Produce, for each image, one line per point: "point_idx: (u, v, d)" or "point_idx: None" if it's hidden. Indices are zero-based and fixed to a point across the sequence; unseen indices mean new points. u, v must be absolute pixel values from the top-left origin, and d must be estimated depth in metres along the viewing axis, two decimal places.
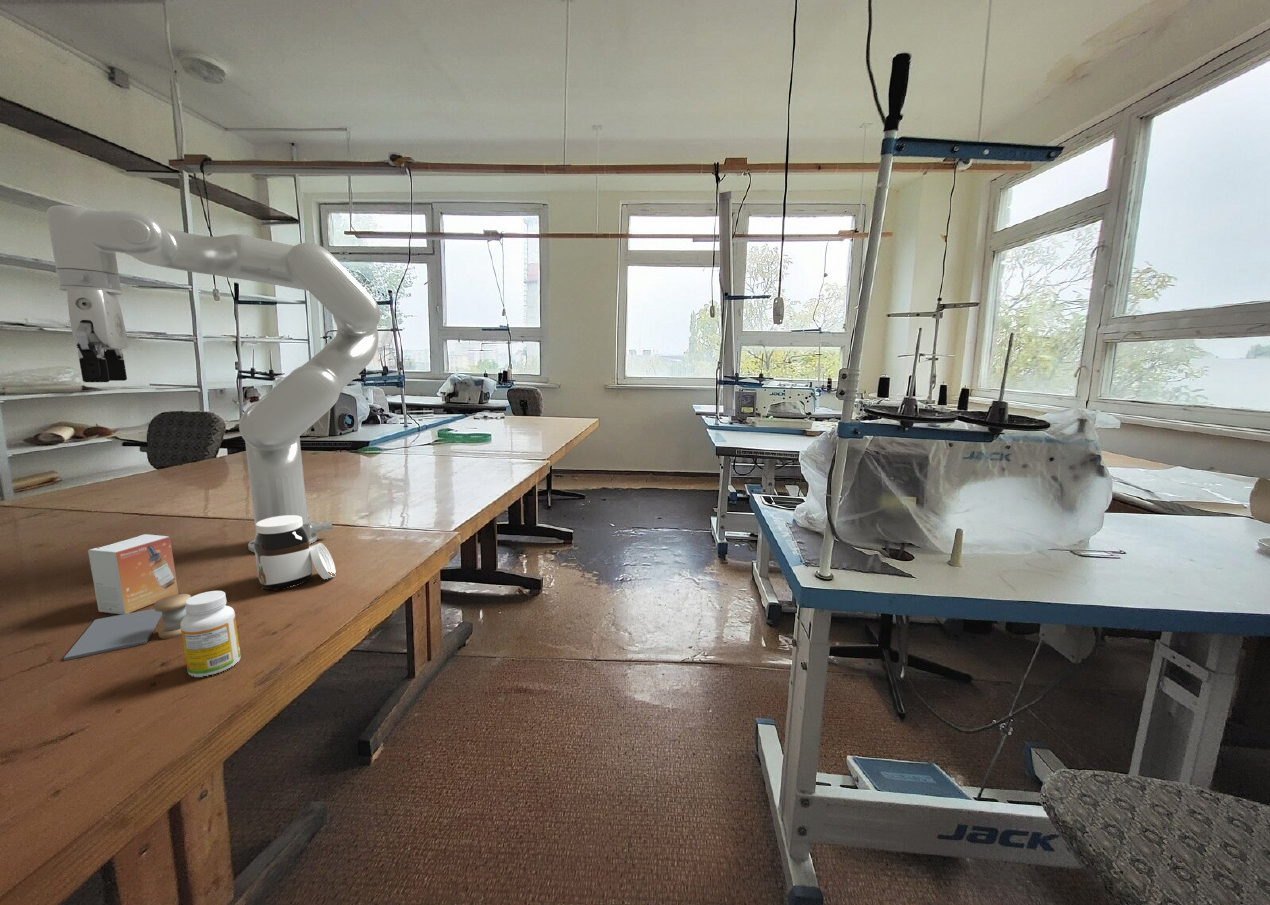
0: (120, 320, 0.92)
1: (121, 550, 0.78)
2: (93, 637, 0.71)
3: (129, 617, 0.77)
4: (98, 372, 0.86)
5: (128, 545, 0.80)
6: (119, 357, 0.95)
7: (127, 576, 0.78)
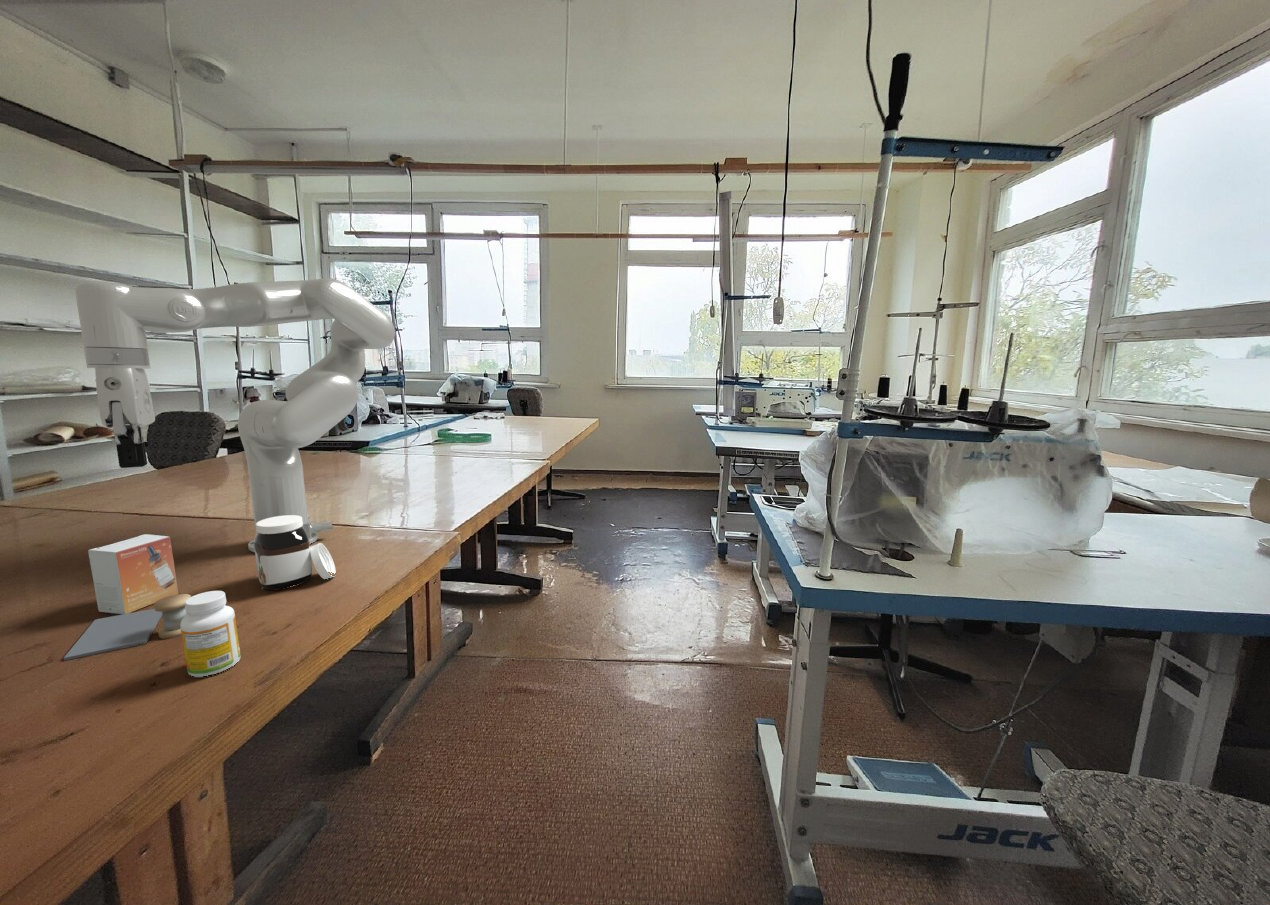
0: (148, 395, 0.88)
1: (121, 550, 0.78)
2: (93, 637, 0.71)
3: (129, 617, 0.77)
4: (135, 458, 0.86)
5: (128, 545, 0.80)
6: (139, 441, 0.87)
7: (127, 576, 0.78)
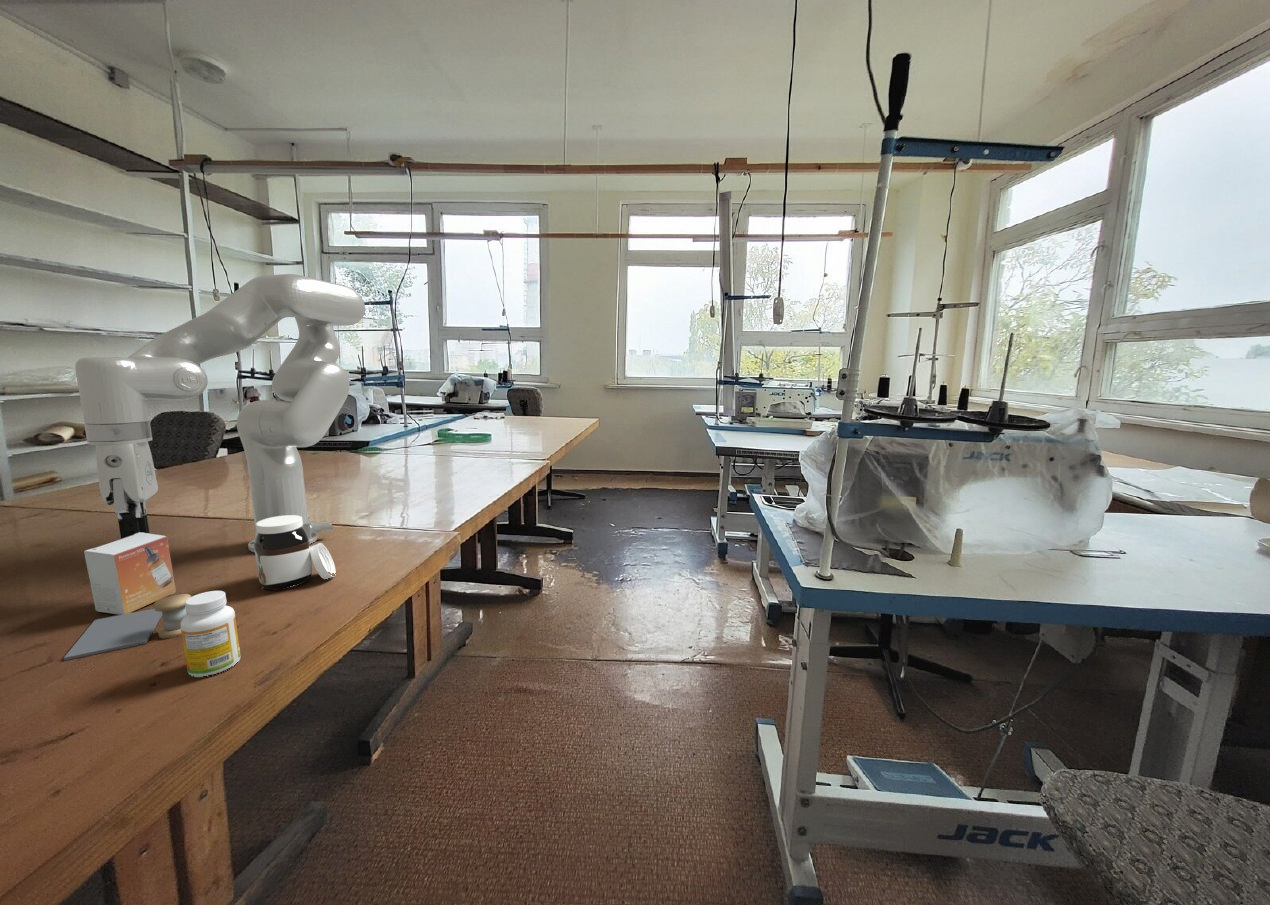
0: (150, 466, 0.86)
1: (119, 552, 0.77)
2: (93, 637, 0.71)
3: (129, 617, 0.77)
4: (137, 532, 0.84)
5: (126, 546, 0.79)
6: (142, 513, 0.85)
7: (126, 578, 0.78)
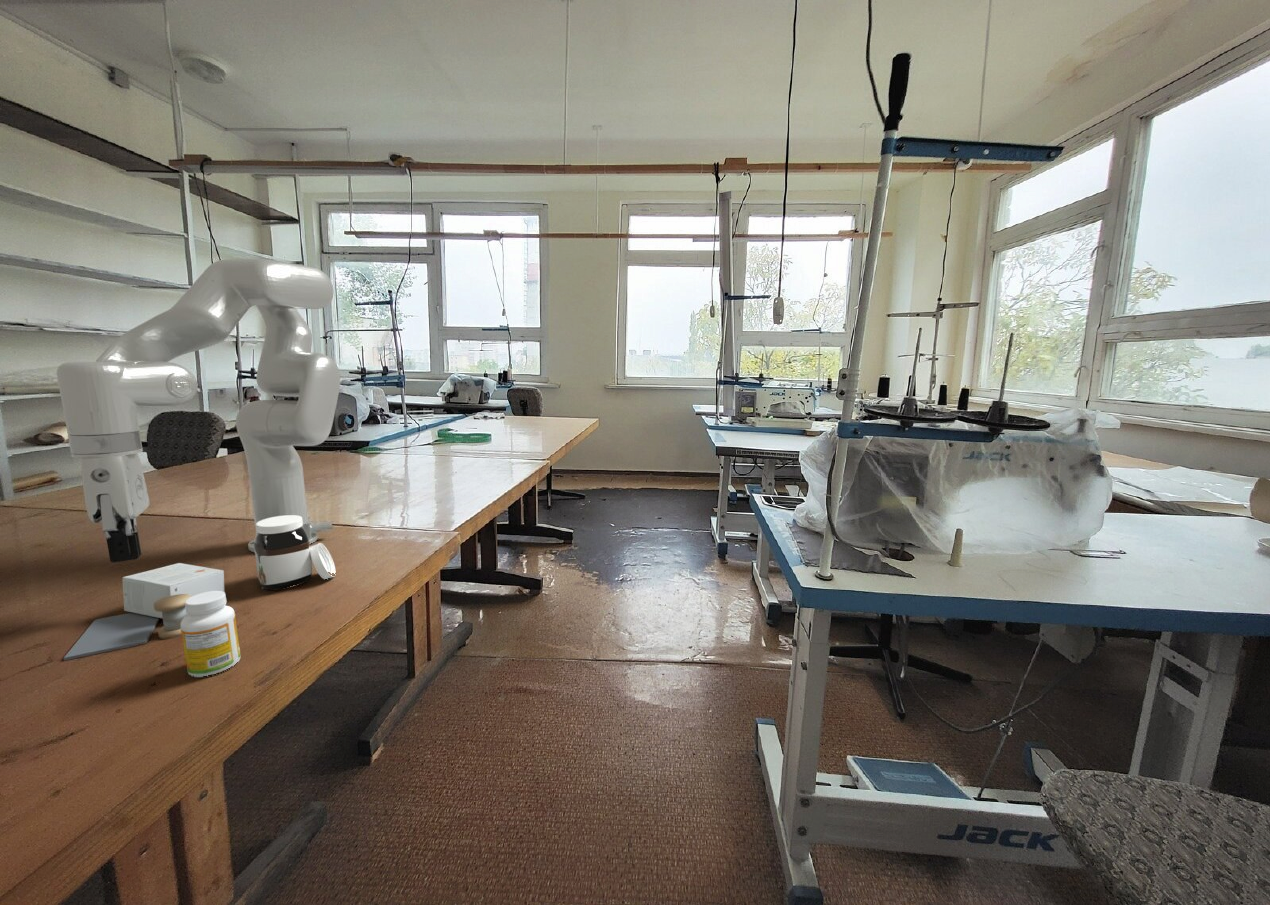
0: (141, 479, 0.79)
1: None
2: (93, 637, 0.71)
3: (129, 617, 0.77)
4: (128, 551, 0.78)
5: None
6: (132, 530, 0.79)
7: None
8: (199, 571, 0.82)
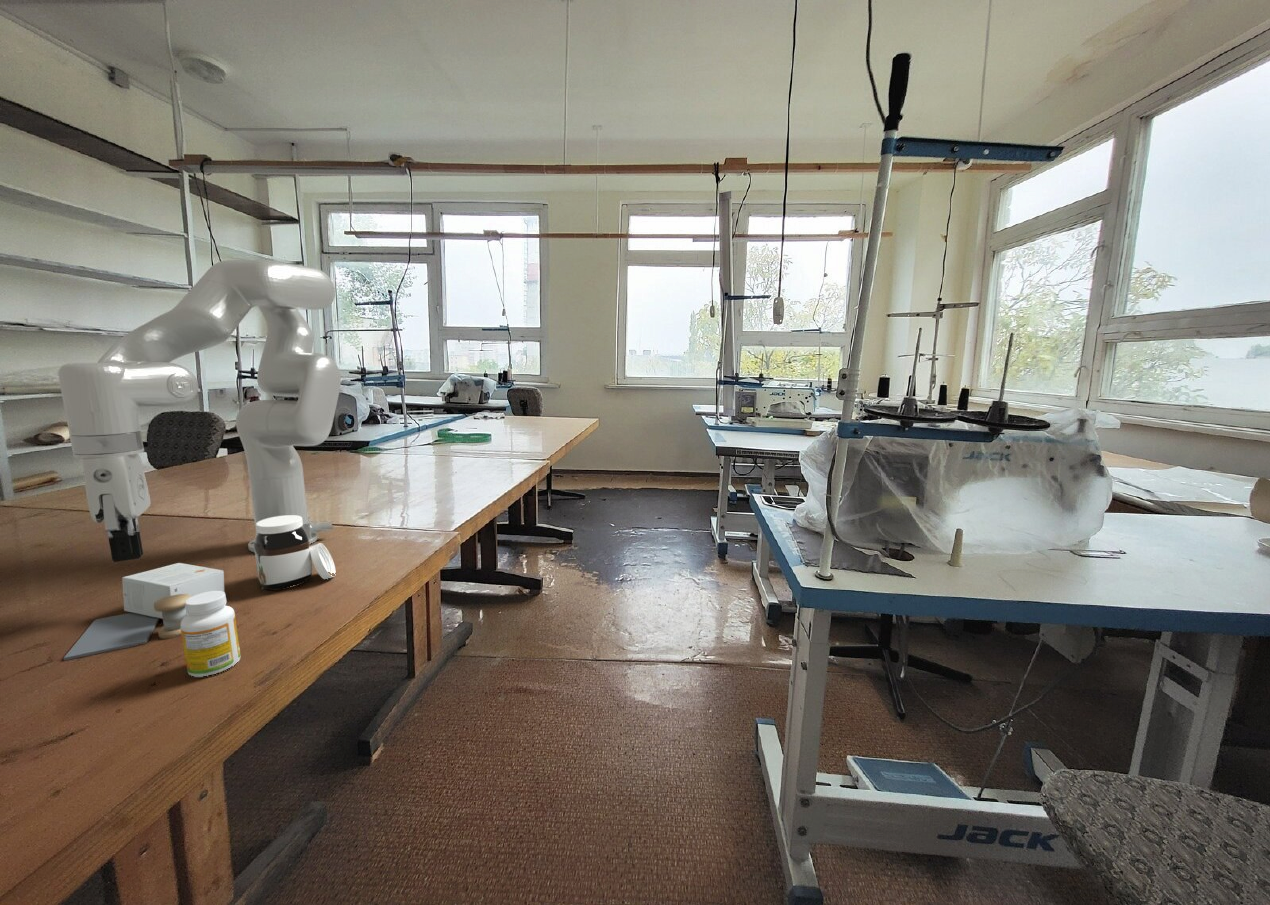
0: (142, 479, 0.80)
1: None
2: (93, 637, 0.71)
3: (129, 617, 0.77)
4: (130, 550, 0.78)
5: None
6: (134, 530, 0.80)
7: None
8: (199, 571, 0.82)
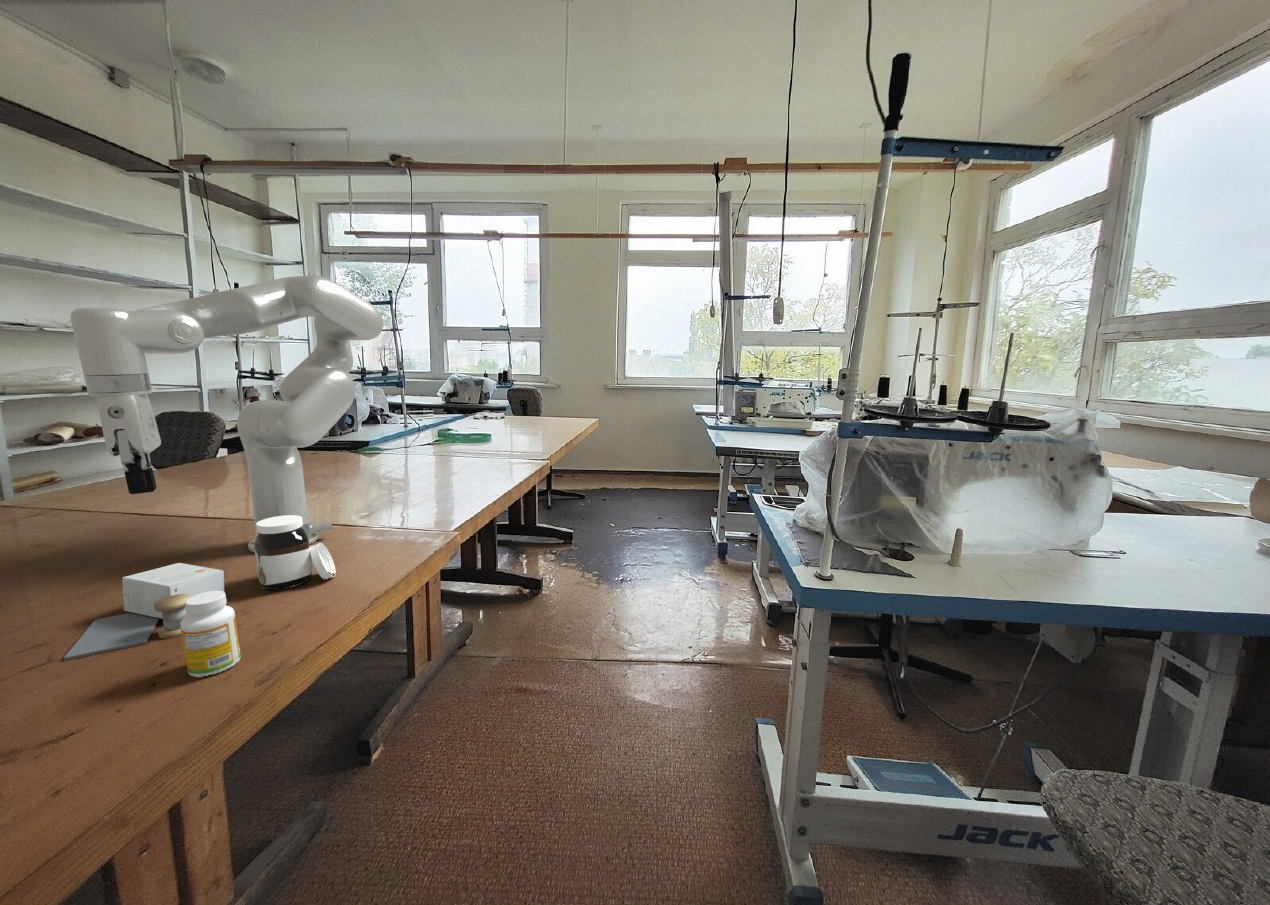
0: (152, 419, 0.86)
1: None
2: (93, 637, 0.71)
3: (129, 617, 0.77)
4: (144, 484, 0.85)
5: None
6: (147, 466, 0.87)
7: None
8: (199, 571, 0.82)
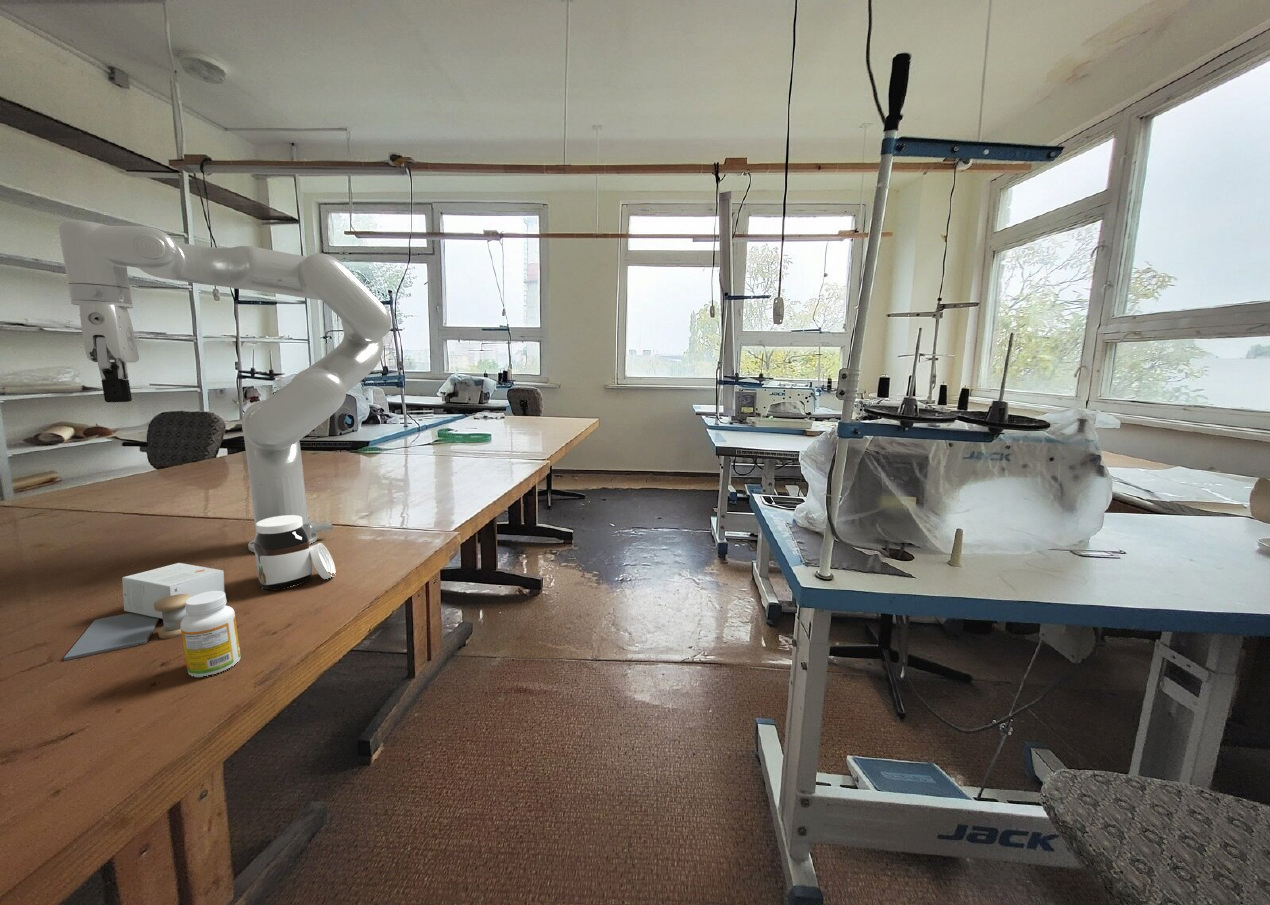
0: (131, 334, 0.92)
1: None
2: (93, 637, 0.71)
3: (129, 617, 0.77)
4: (120, 392, 0.90)
5: None
6: (124, 377, 0.92)
7: None
8: (199, 571, 0.82)
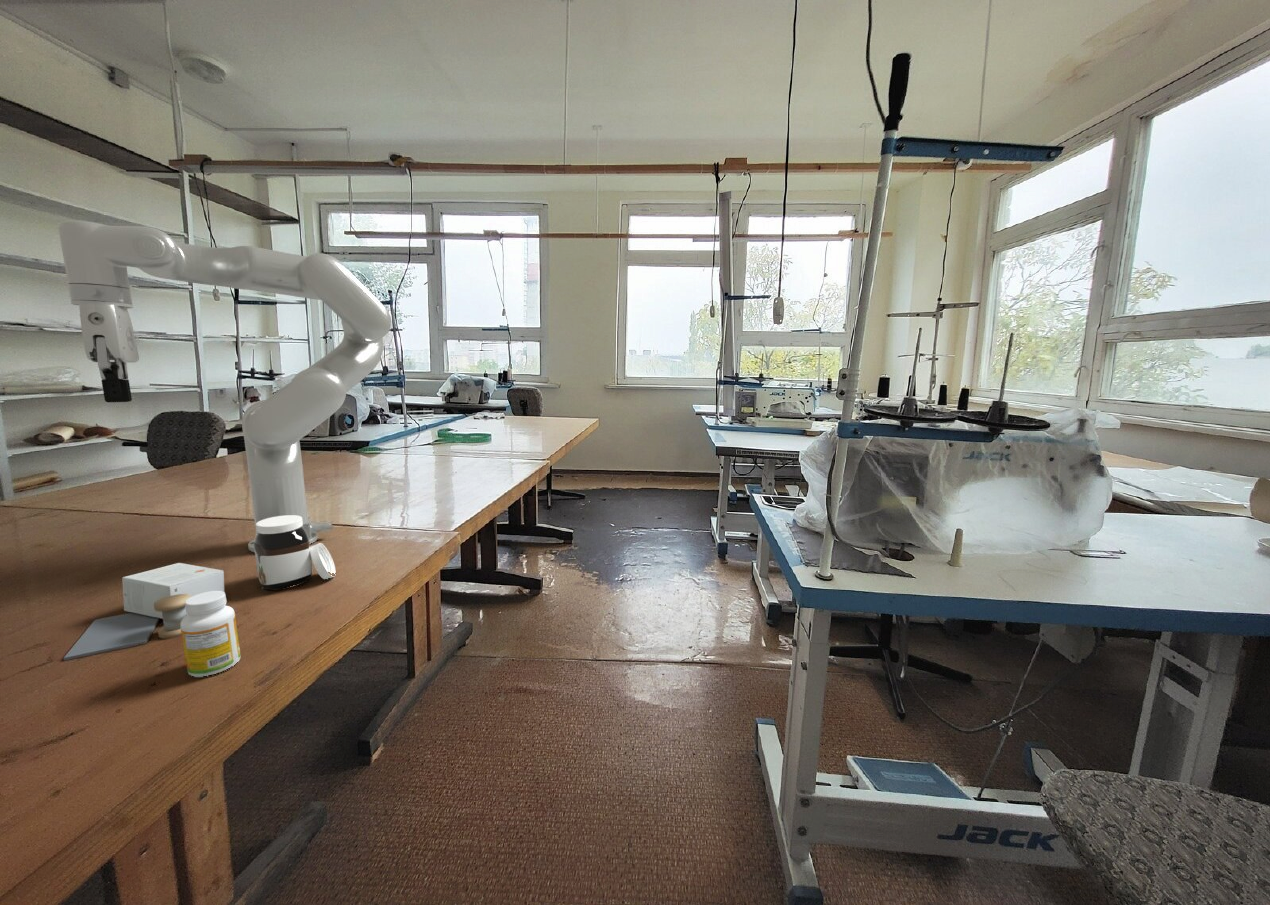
0: (131, 334, 0.92)
1: None
2: (93, 637, 0.71)
3: (129, 617, 0.77)
4: (120, 393, 0.90)
5: None
6: (124, 377, 0.92)
7: None
8: (199, 571, 0.82)
